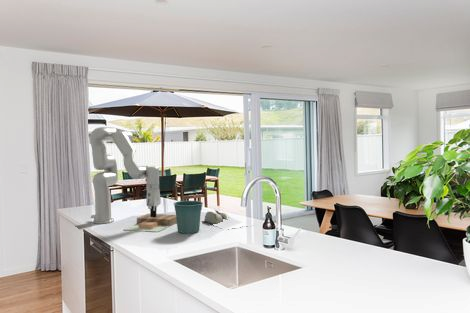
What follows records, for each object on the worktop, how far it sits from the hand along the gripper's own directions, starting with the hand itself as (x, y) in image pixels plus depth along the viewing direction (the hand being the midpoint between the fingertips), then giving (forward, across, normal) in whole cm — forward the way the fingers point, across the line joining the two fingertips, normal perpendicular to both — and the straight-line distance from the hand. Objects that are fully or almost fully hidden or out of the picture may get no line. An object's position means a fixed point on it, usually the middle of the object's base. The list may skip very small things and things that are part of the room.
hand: (153, 217), depth 231 cm
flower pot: (+5, -10, -27) cm, 29 cm away
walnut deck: (+5, +6, 0) cm, 8 cm away
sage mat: (+5, -9, 0) cm, 10 cm away
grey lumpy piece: (+6, +15, -41) cm, 44 cm away
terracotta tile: (+2, -8, 0) cm, 8 cm away
